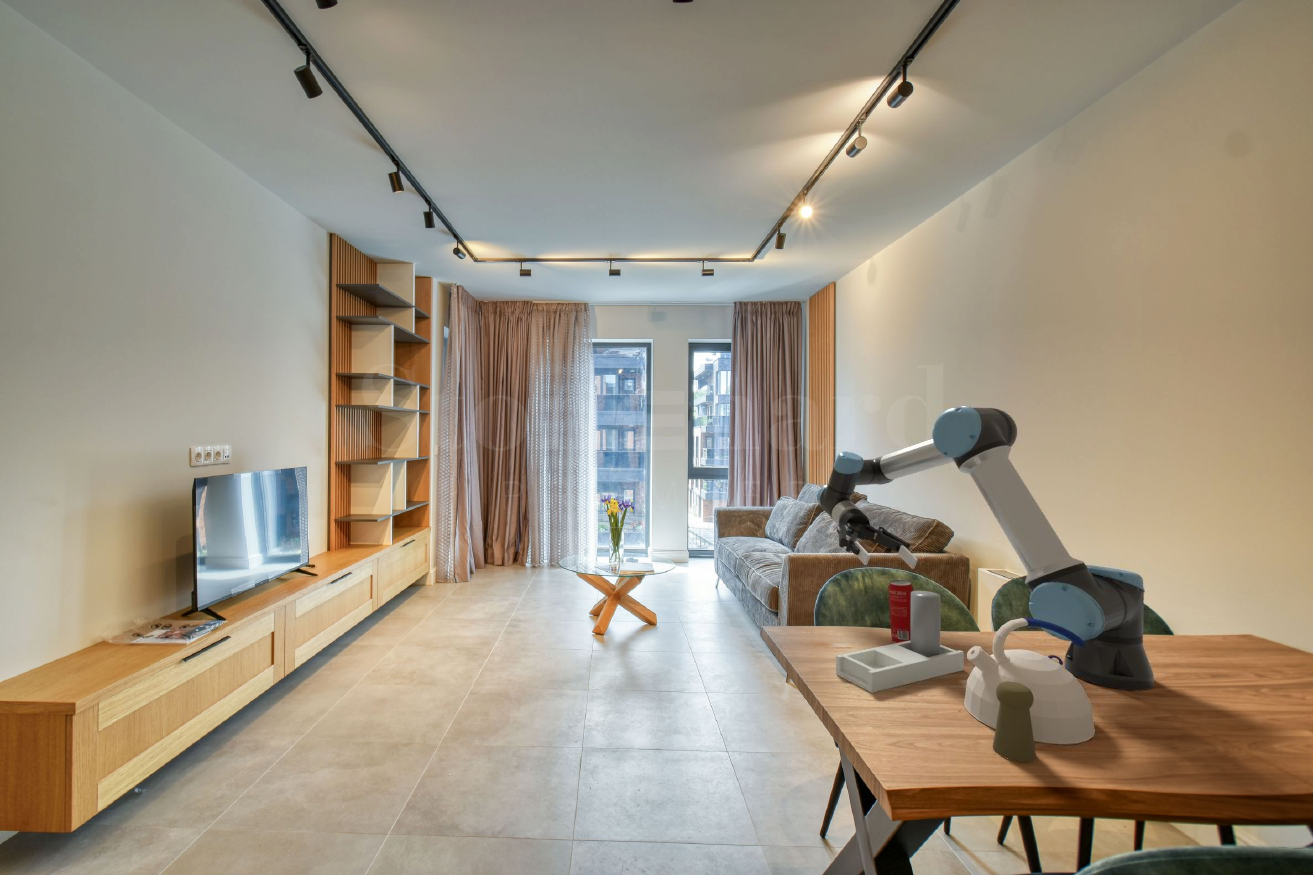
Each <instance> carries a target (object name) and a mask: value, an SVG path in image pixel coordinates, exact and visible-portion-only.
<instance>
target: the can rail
mask: <svg viewBox="0 0 1313 875" xmlns="http://www.w3.org/2000/svg"><path fill="white" fill-rule="evenodd" d="M941 599H942V598H941V594H939V593H936V592H934V591H926V590H913V592H911V639H910V641H905V642H900V643H891V644H887V645H886V644H885V645H881V646H875V647H872V648H866V649H862V650H857V651H852V652H851V651H850V652H848V653H842V654H837V655H835V658H836V659H835V663H836V664H835V674H836V675H837V676H839V677H841V678H842V679H845V680H847V681H848V682H850V683H852V684H854V685H856V686H858V687H860V688H862V689H863V690H865V691H867V692H868V693H871V694H873V693H876V692H881V691H885V690H889V689H893V688H897V687H901V686H904V685H909V684H913V683H917V682H922V681H925V680H929V679H933V678H937V677H942V676H946V675H949V674H953V673H957V672H961V671H964V669H965V667H964V666H965V665H964V663H965V661H964V660H965V659H964V658H965V654H964V653H965V652H964V651H963V650H956V649H952V648H950V647H947V646H945V645H942V644H941V603H942V602H941Z"/></svg>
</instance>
